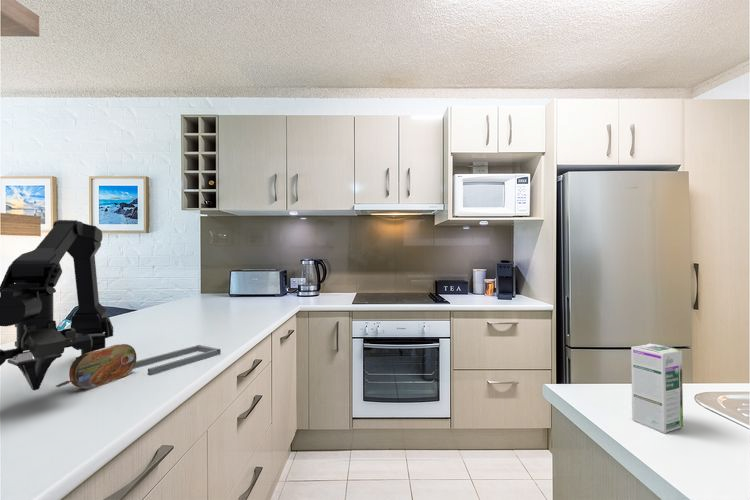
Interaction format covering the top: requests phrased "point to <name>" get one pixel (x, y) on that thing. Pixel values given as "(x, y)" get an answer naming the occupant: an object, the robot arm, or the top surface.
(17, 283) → the robot arm
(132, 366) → the tin
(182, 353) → the slate corral
